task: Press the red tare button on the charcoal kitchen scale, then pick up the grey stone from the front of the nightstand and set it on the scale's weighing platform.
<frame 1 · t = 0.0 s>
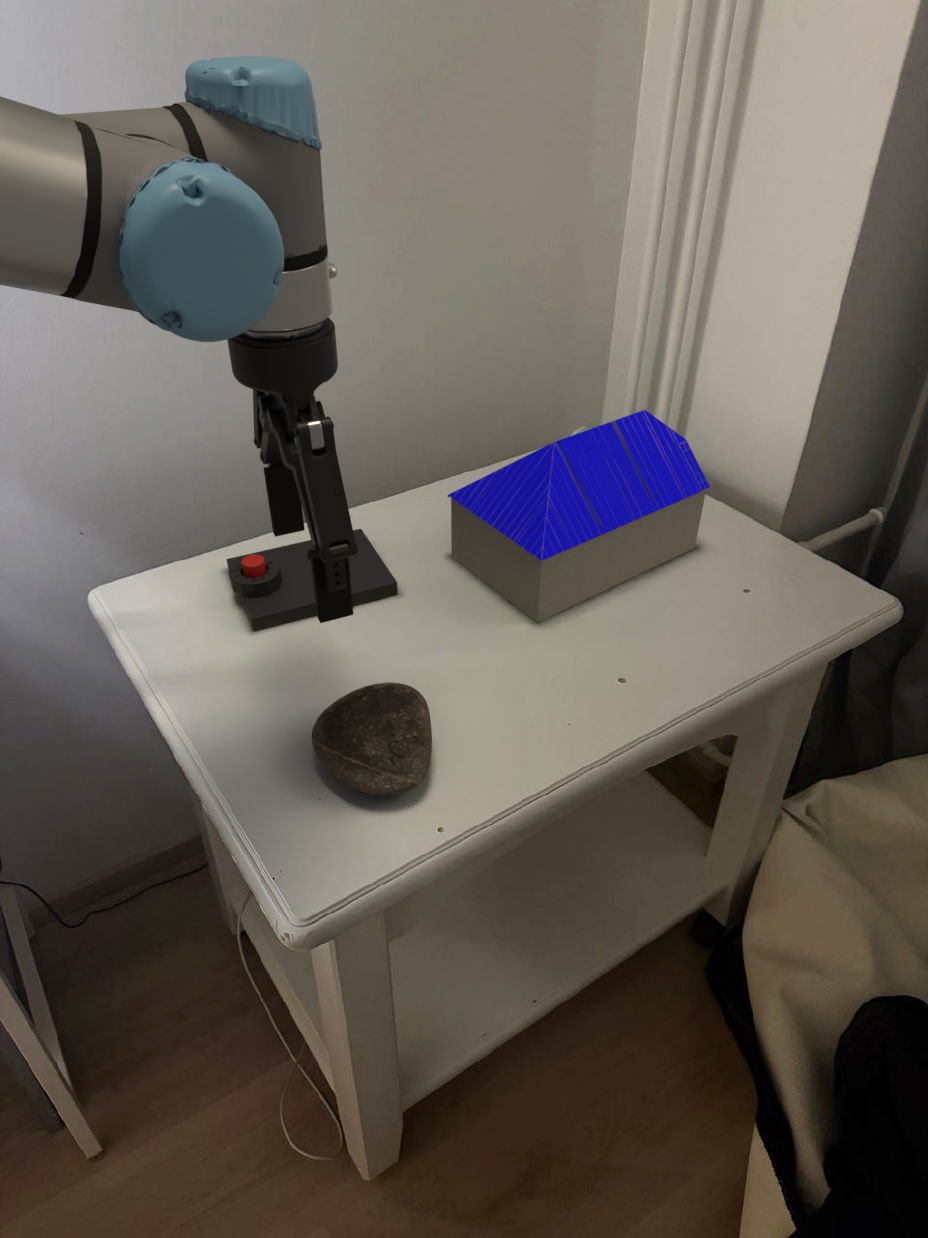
hand: (310, 571, 75), 15 cm above the table, tool pointing down, fingers open, 13 cm apart
scale: (311, 582, 100), on the table
house: (573, 553, 105), on the table
stone: (383, 761, 79), on the table
tare button: (253, 566, 95), point 4 cm above the table, slide at 0.1 cm
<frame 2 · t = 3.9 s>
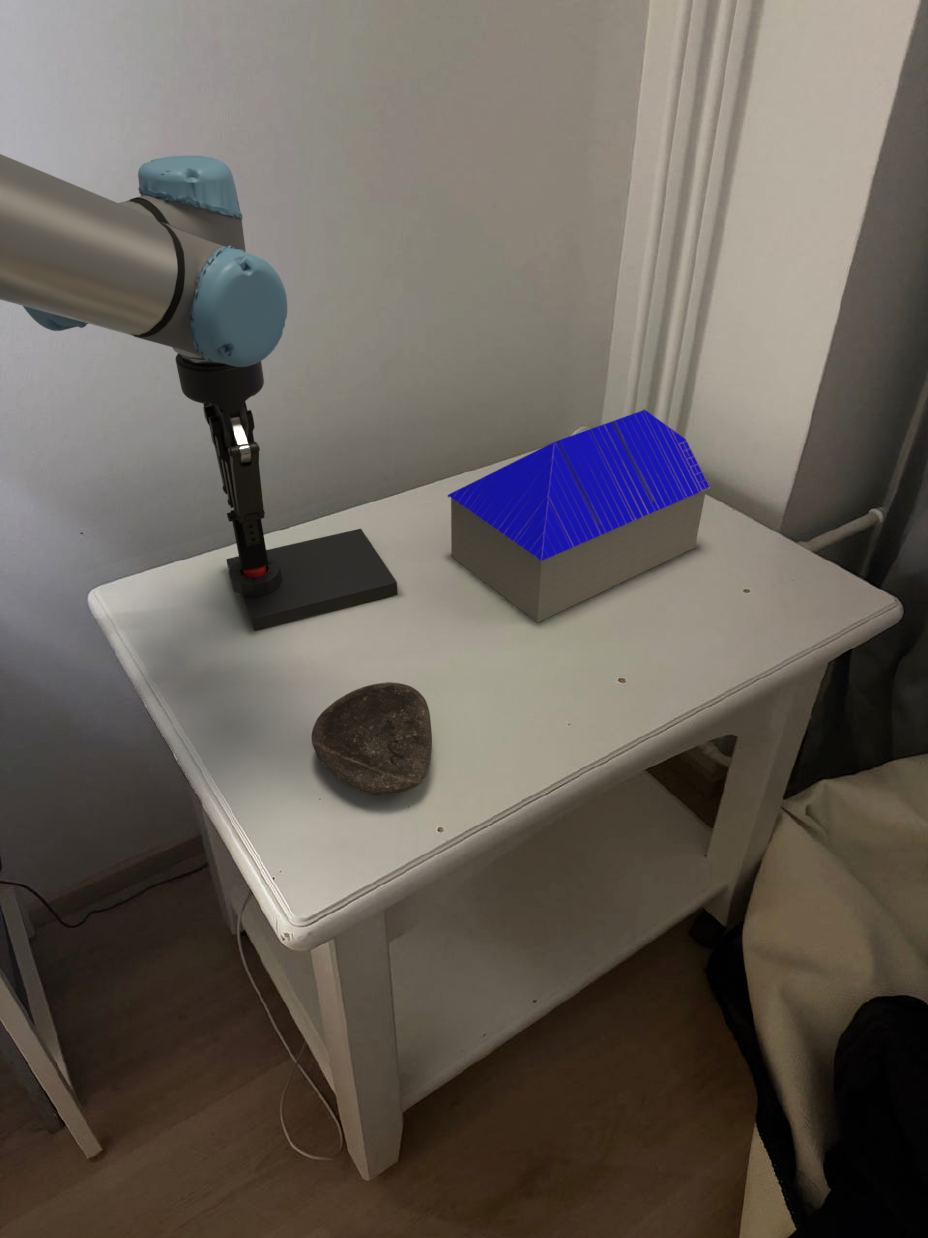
hand: (254, 563, 95), 4 cm above the table, tool pointing down, fingers closed
tare button: (254, 572, 96), point 3 cm above the table, slide at -0.6 cm, touching gripper
everything else where it was.
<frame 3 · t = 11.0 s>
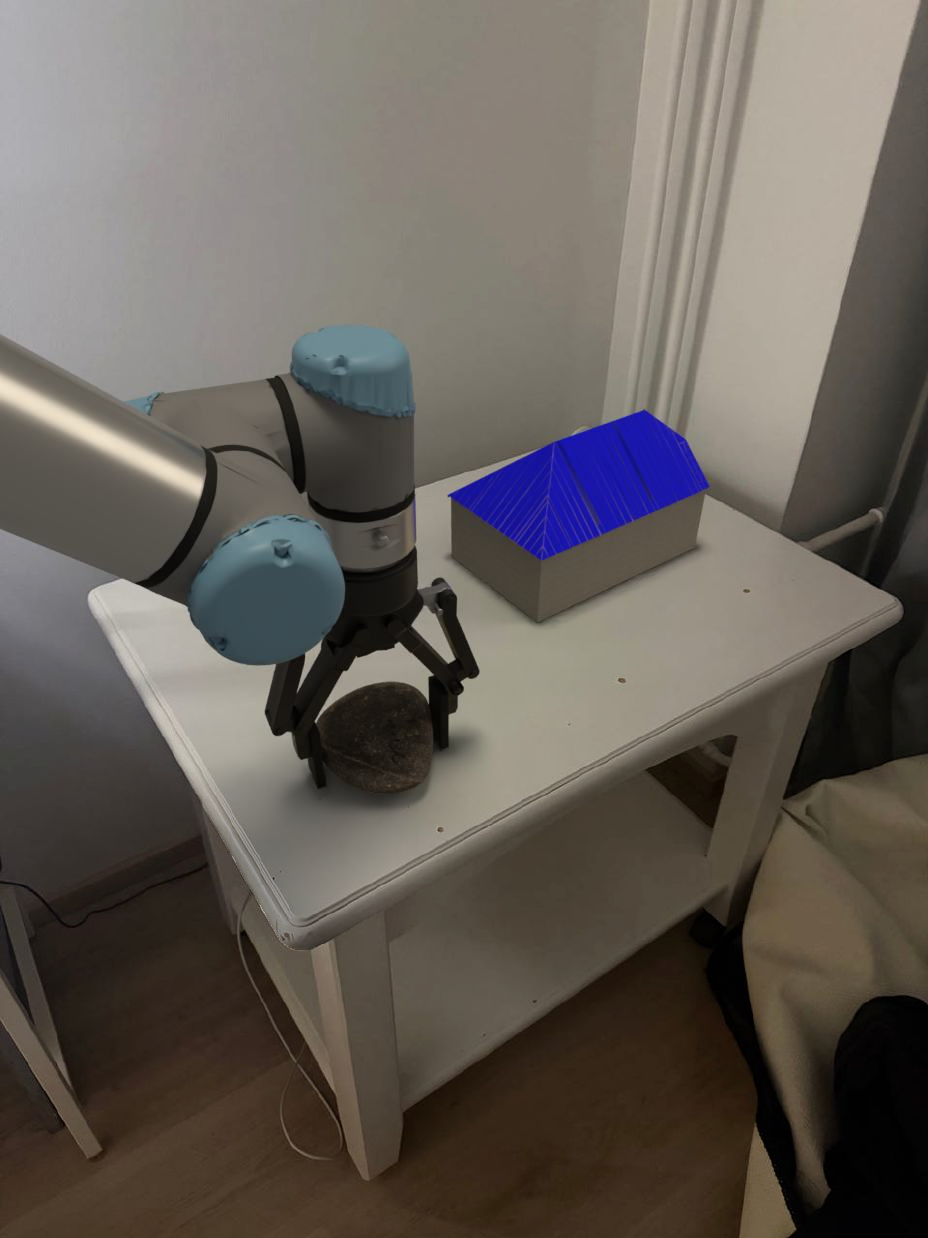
hand: (379, 757, 78), 0 cm above the table, tool pointing down, fingers closed on stone, 11 cm apart
stone: (384, 760, 79), on the table, touching gripper
tare button: (253, 566, 95), point 4 cm above the table, slide at 0.1 cm
everything else where it was.
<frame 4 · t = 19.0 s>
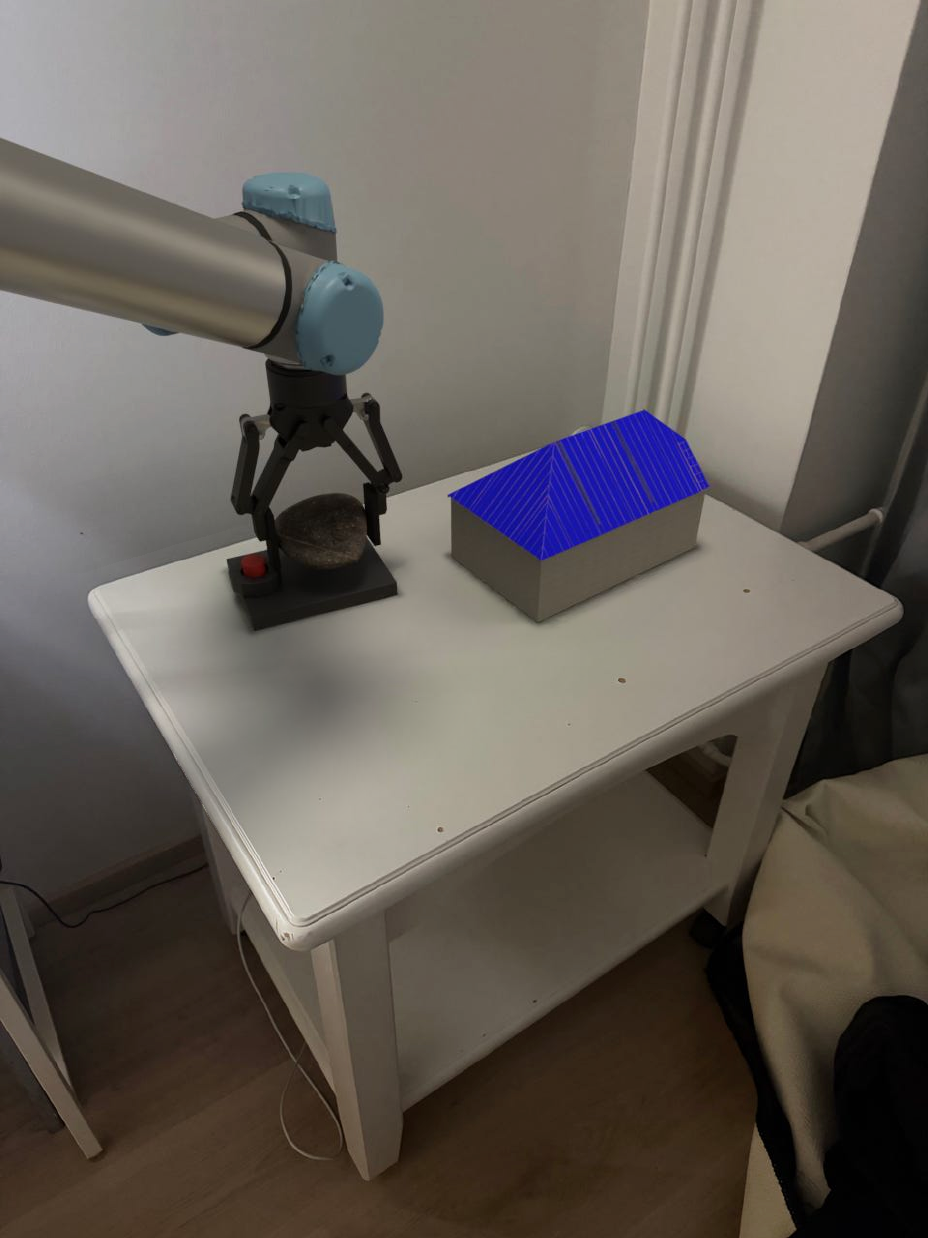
hand: (325, 550, 98), 4 cm above the table, tool pointing down, fingers closed on stone, 11 cm apart
stone: (329, 554, 98), point 3 cm above the table, touching gripper
everything else where it was.
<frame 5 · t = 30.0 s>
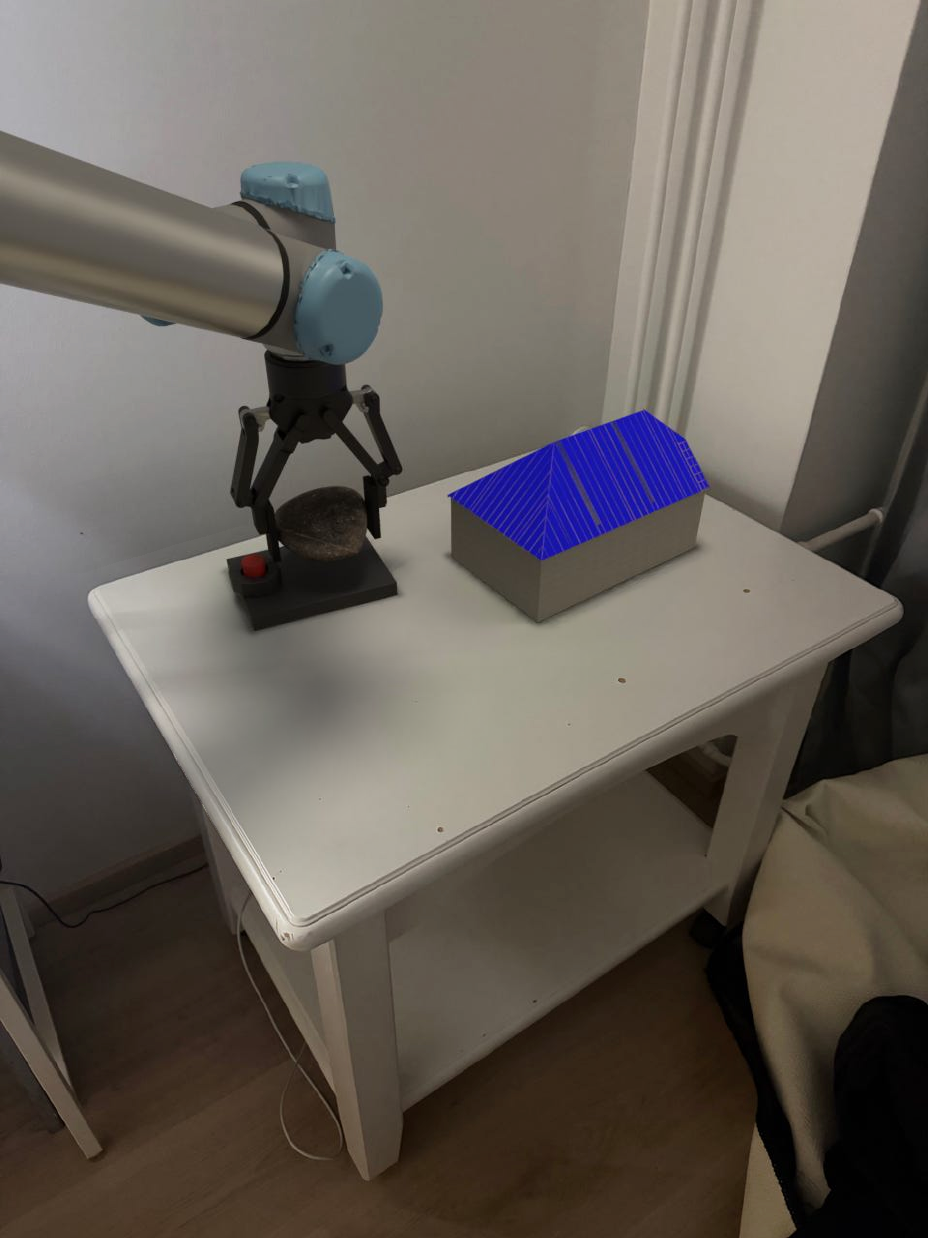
hand: (325, 544, 97), 5 cm above the table, tool pointing down, fingers closed on stone, 10 cm apart
stone: (329, 547, 98), point 4 cm above the table, touching gripper
everything else where it was.
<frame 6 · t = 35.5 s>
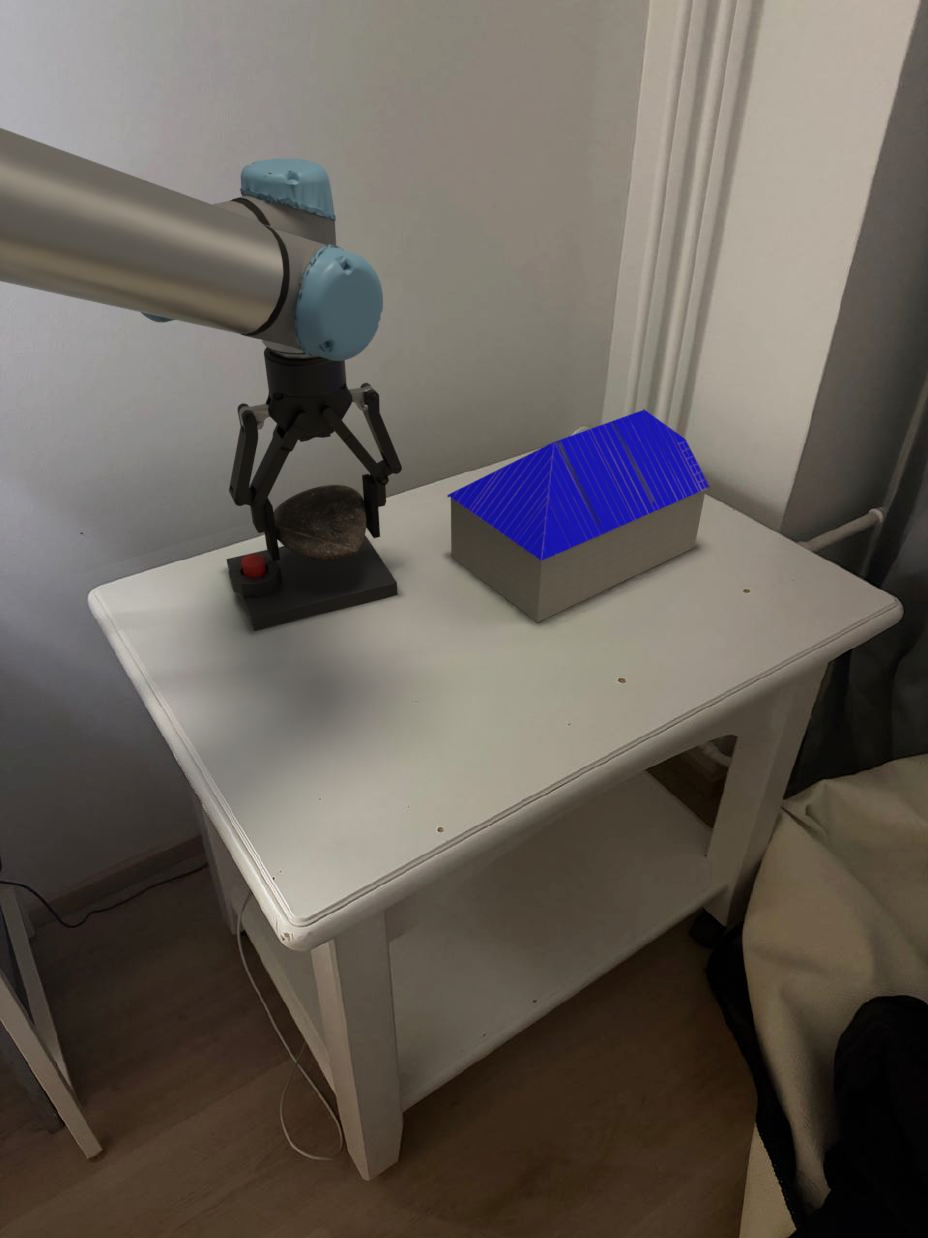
hand: (324, 542, 97), 5 cm above the table, tool pointing down, fingers closed on stone, 10 cm apart
stone: (328, 546, 98), point 4 cm above the table, touching gripper
everything else where it was.
when the fingers open (6 cm above the table, at t = 40.6 s): stone drops 3 cm, resting on scale.
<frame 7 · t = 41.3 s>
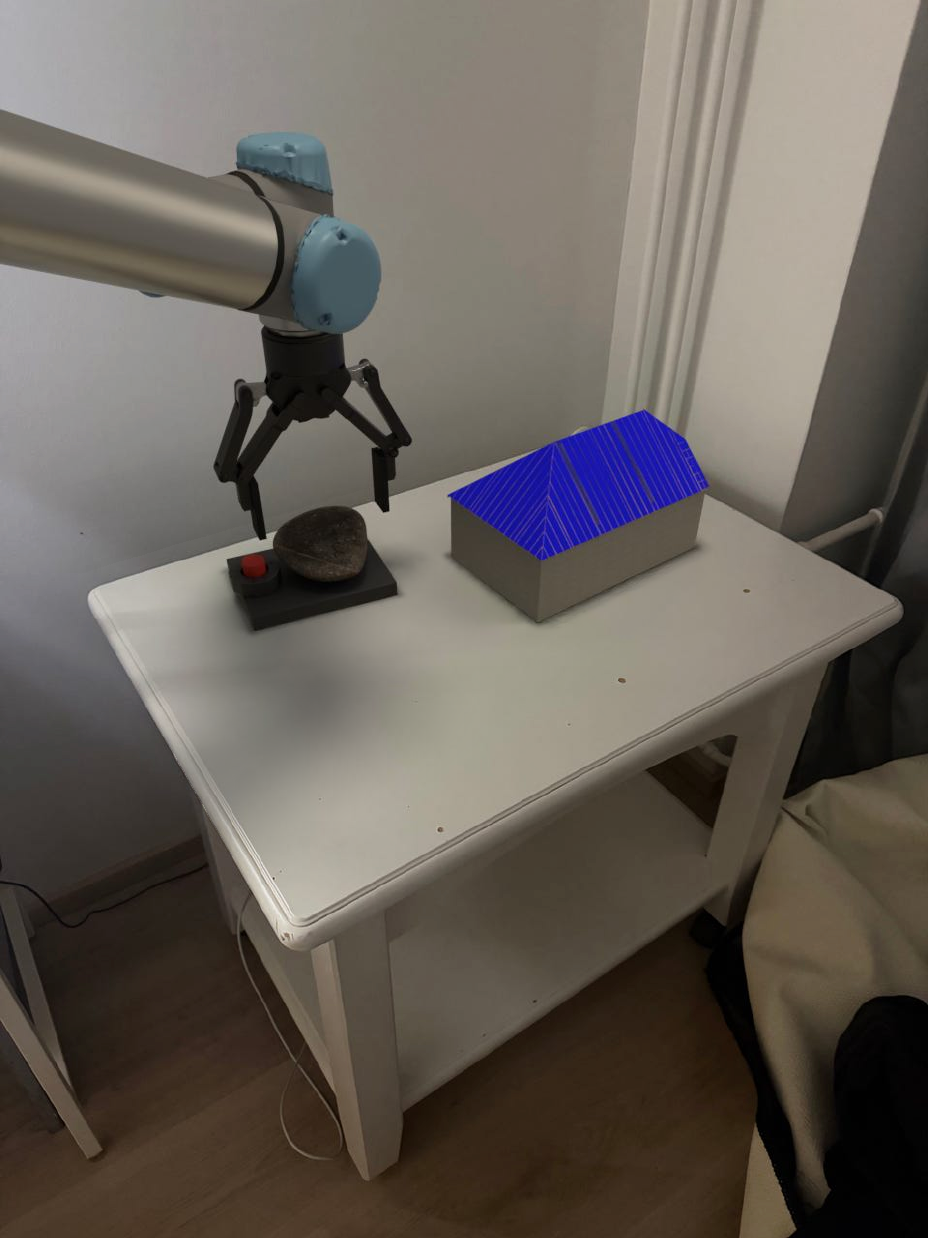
hand: (322, 519, 95), 8 cm above the table, tool pointing down, fingers open, 13 cm apart
stone: (330, 566, 99), point 2 cm above the table, touching scale
everything else where it was.
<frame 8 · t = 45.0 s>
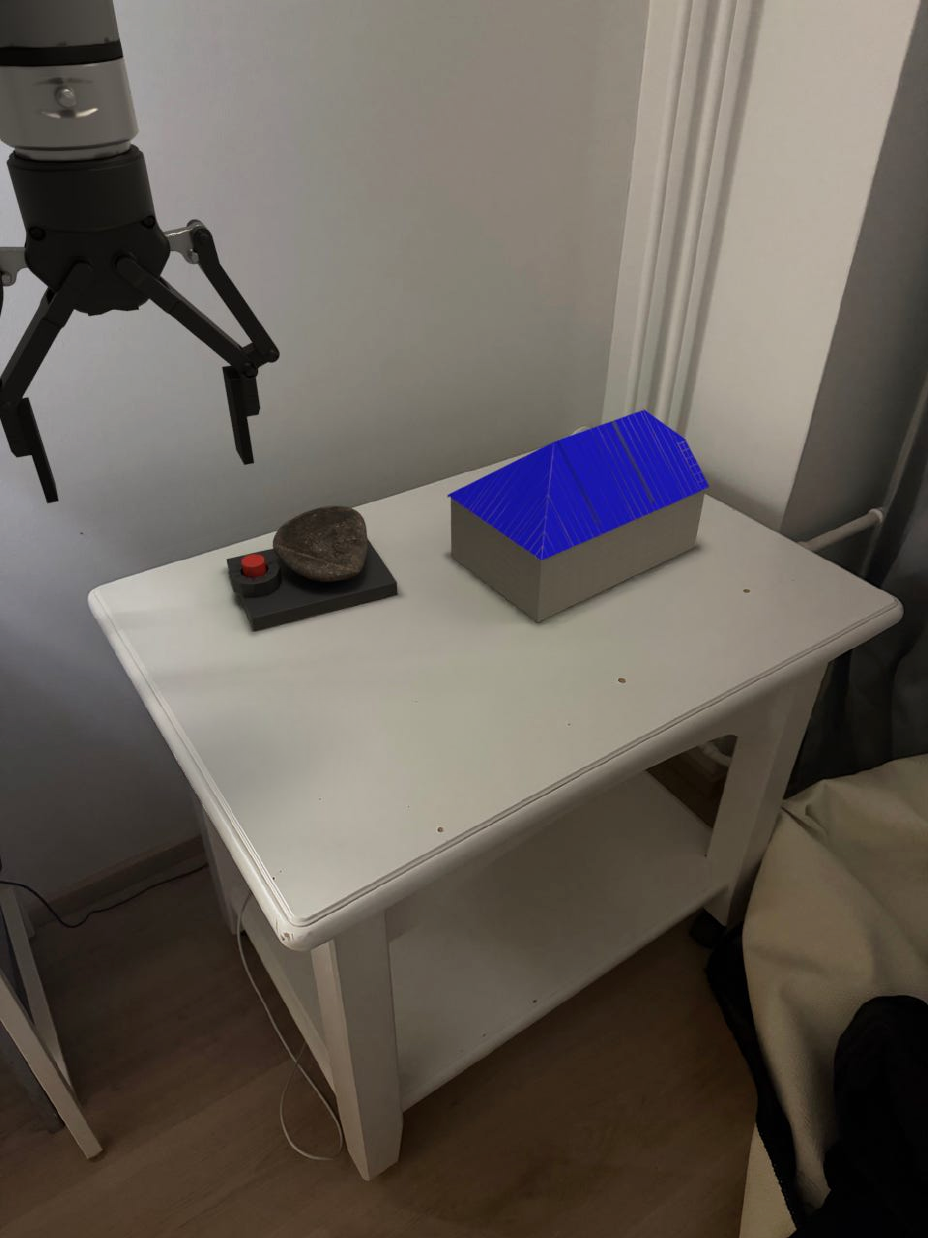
hand: (151, 474, 64), 27 cm above the table, tool pointing down, fingers open, 13 cm apart
nothing on the table moved.
at the end: tare button pushed in 1.0 cm at the most during the clip, back to where it started at the end; tare button slide at 0.1 cm; stone inside the target area on the scale (0.1 cm from its centre), point 1.5 cm above the scale's base; the gripper is holding nothing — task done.
